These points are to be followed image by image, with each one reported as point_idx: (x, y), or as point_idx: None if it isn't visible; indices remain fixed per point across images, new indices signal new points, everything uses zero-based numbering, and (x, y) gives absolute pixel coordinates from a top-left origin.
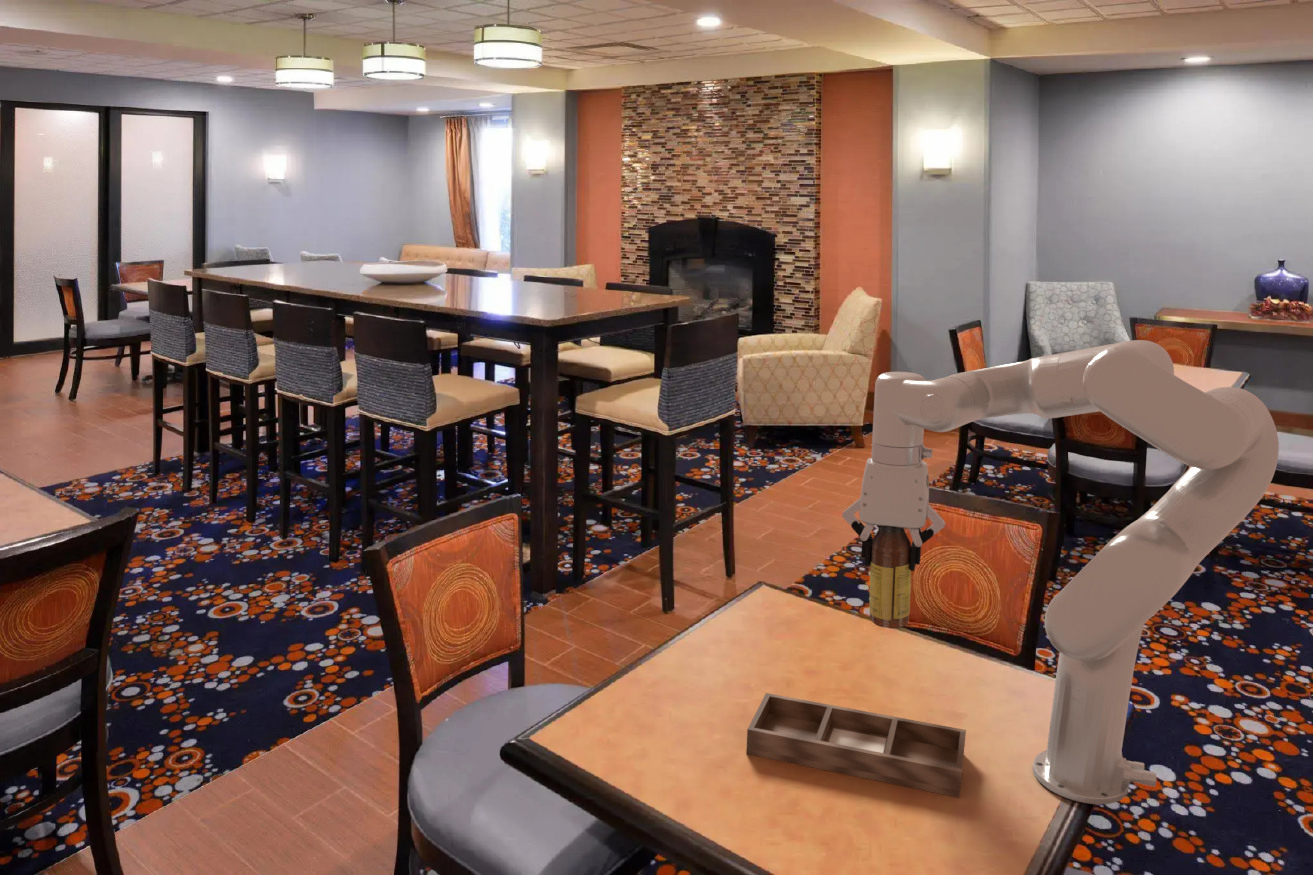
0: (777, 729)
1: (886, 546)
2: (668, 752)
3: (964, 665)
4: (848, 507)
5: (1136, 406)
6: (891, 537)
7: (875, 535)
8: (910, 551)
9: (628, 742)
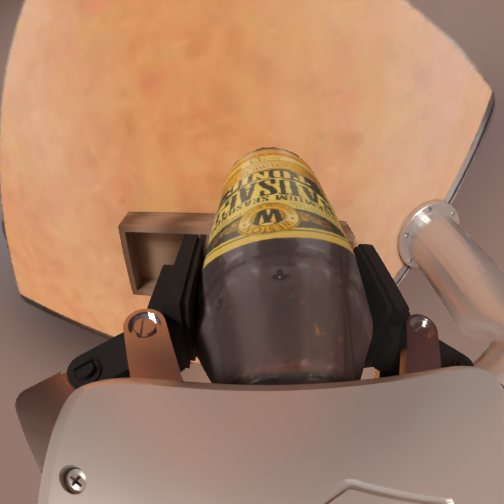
0: (151, 246)
1: None
2: (89, 289)
3: (369, 8)
4: (25, 436)
5: None
6: None
7: (207, 375)
8: None
9: (61, 284)
